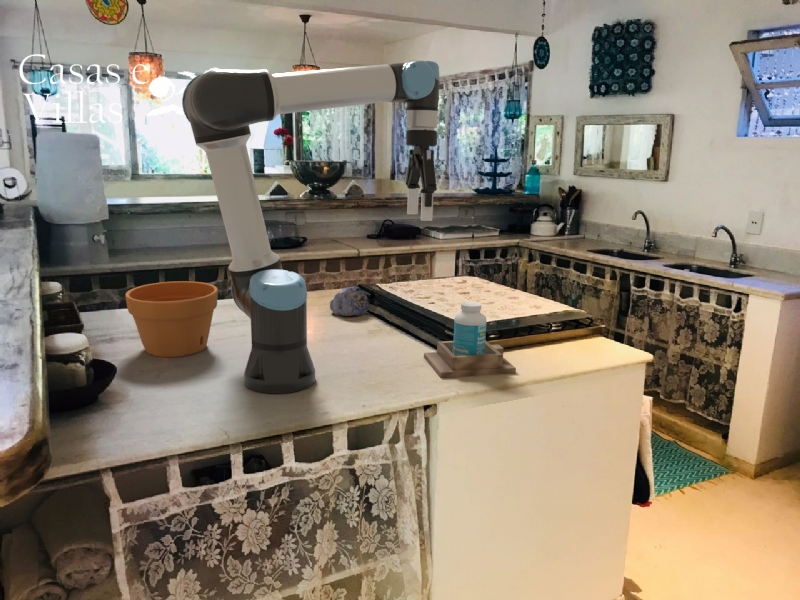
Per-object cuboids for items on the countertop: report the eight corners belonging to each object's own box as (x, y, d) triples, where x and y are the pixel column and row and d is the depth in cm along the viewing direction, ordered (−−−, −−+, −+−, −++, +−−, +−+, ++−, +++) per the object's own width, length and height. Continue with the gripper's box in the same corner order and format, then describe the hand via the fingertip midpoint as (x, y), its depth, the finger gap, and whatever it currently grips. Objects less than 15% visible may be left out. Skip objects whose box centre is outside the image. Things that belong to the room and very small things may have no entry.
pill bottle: (482, 366, 148) (485, 309, 145) (450, 363, 149) (453, 306, 146) (485, 355, 155) (488, 301, 152) (455, 353, 157) (457, 299, 153)
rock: (375, 303, 198) (361, 277, 193) (358, 325, 191) (342, 299, 187) (350, 305, 204) (336, 279, 200) (332, 326, 198) (317, 300, 193)
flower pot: (184, 367, 147) (181, 304, 143) (110, 355, 153) (104, 295, 150) (236, 341, 166) (234, 285, 163) (168, 332, 173) (164, 278, 169)
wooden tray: (440, 377, 144) (441, 359, 143) (423, 357, 157) (424, 341, 156) (515, 372, 148) (516, 355, 147) (493, 353, 161) (494, 337, 160)
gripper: (452, 129, 145) (448, 223, 150) (423, 130, 168) (420, 211, 174) (420, 128, 143) (417, 223, 148) (395, 129, 167) (393, 211, 172)
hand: (419, 217), depth 161 cm, fingers open, 13 cm apart
